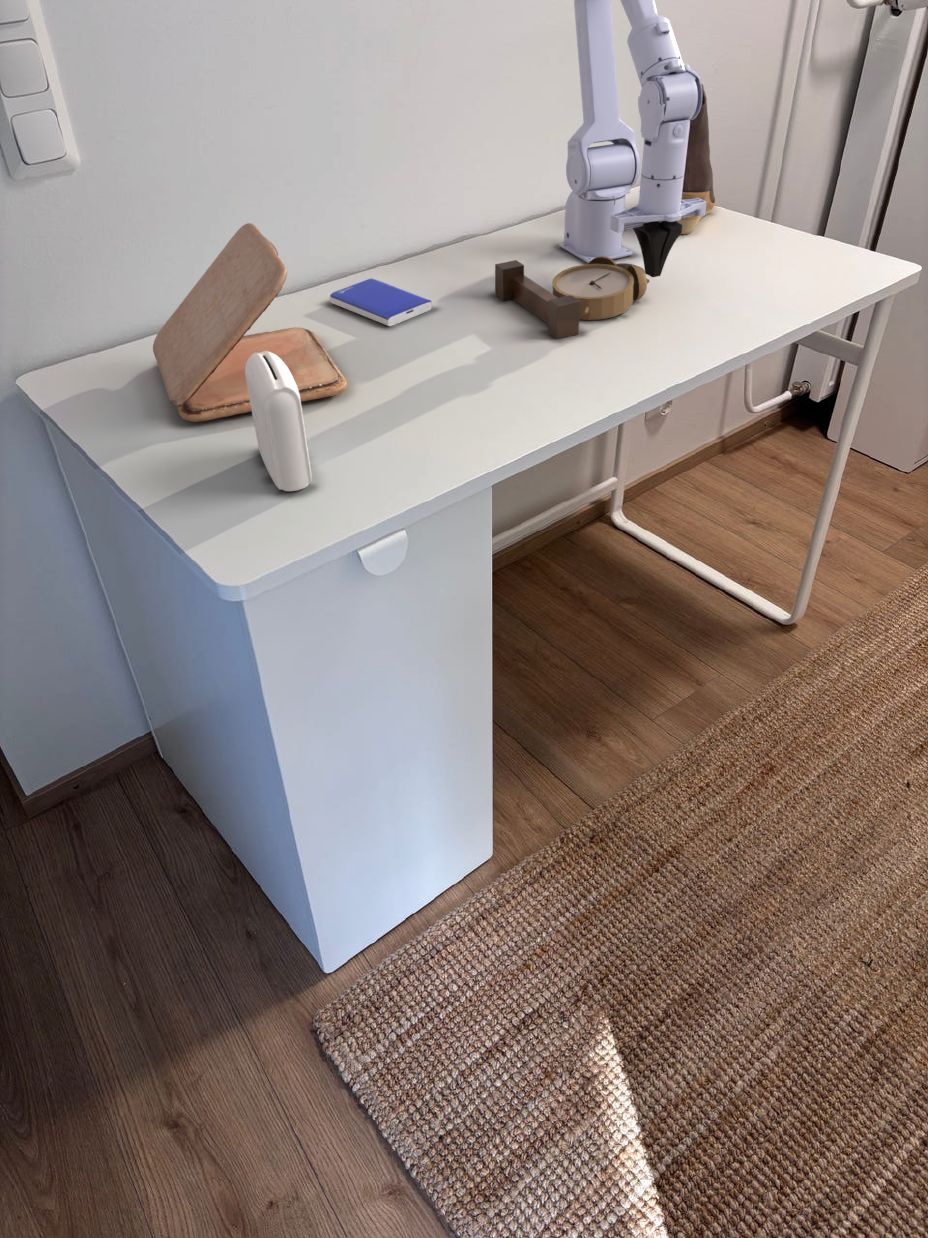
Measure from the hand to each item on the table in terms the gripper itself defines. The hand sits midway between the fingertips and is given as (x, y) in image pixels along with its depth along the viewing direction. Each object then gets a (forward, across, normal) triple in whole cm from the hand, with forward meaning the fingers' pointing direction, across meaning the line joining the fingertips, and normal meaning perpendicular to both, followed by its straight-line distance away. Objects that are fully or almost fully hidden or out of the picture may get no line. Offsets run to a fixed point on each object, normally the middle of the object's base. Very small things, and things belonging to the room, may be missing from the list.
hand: (652, 274), depth 140 cm
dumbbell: (+2, -18, 0) cm, 19 cm away
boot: (+2, +24, +24) cm, 34 cm away
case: (+2, -60, 0) cm, 60 cm away
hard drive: (+2, -37, +13) cm, 39 cm away
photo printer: (+2, -63, -23) cm, 67 cm away
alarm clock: (+2, -9, -1) cm, 9 cm away
